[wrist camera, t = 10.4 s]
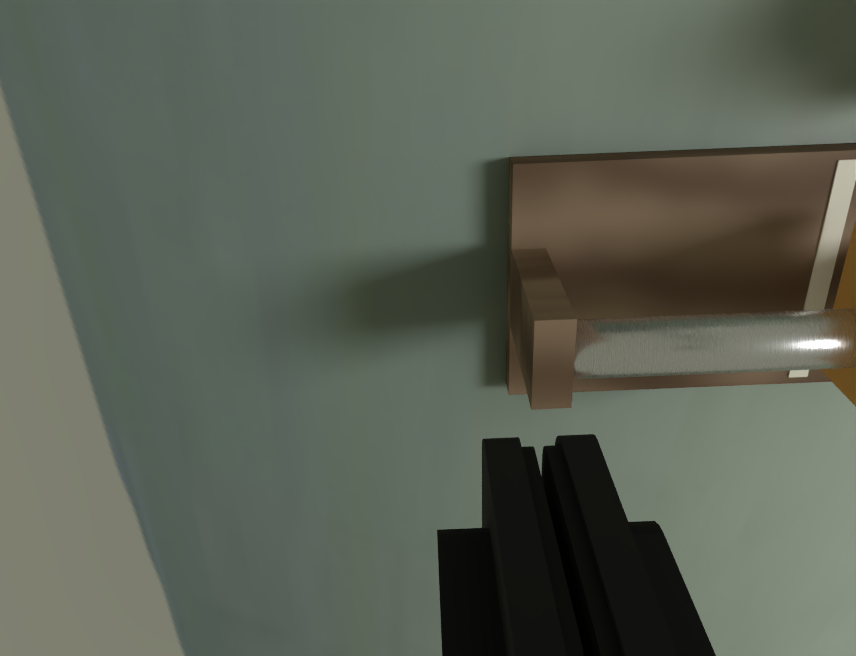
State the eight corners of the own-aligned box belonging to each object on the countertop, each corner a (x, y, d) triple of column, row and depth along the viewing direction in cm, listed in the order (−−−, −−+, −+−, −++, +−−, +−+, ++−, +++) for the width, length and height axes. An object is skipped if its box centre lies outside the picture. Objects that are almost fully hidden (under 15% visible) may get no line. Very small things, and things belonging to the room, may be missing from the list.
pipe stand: (509, 157, 41) (538, 220, 31) (951, 139, 41) (1113, 196, 31) (506, 382, 48) (528, 489, 38) (883, 366, 48) (998, 469, 38)
